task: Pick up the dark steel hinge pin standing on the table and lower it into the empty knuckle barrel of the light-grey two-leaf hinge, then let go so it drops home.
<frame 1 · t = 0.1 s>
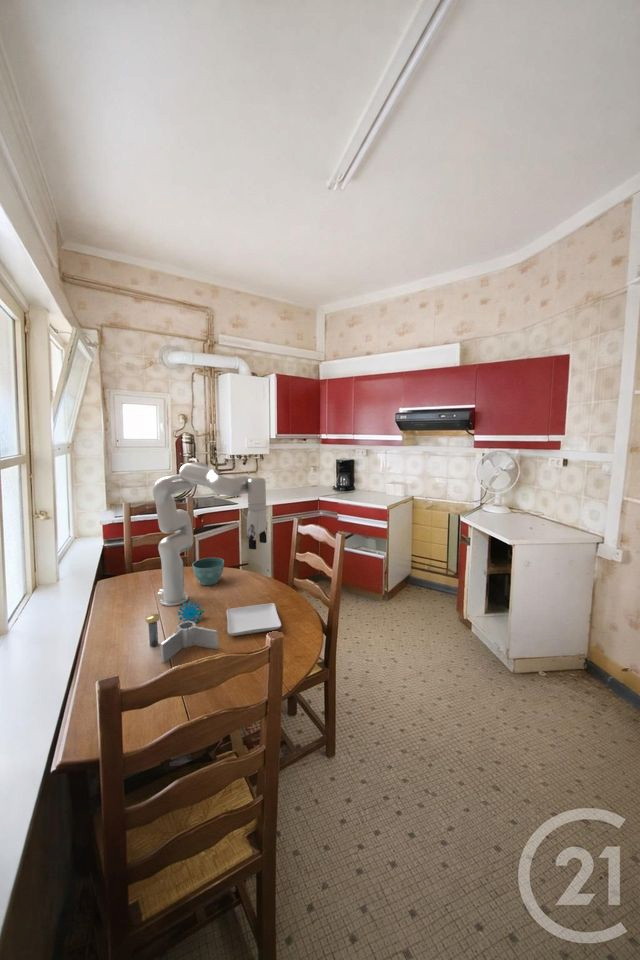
hand: (257, 545, 163), 31 cm above the table, fingers open, 9 cm apart
salad plate: (253, 624, 159), on the table
blue spiky piece: (191, 621, 161), on the table
teal bowl: (209, 582, 202), on the table
hinge: (187, 642, 144), on the table
pin: (154, 644, 143), on the table
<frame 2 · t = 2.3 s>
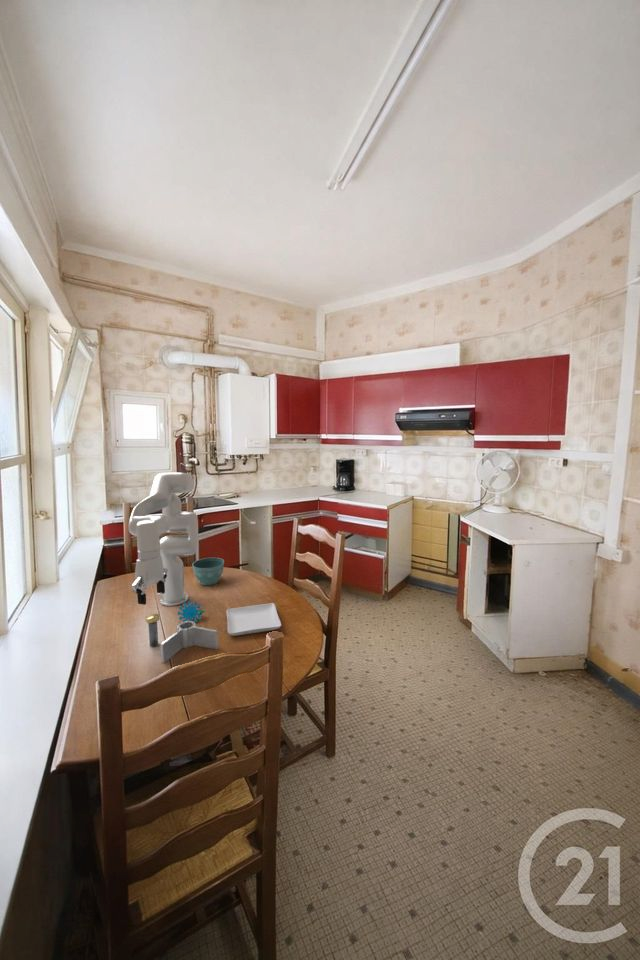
hand: (151, 598, 140), 18 cm above the table, fingers open, 9 cm apart
nothing on the table moved.
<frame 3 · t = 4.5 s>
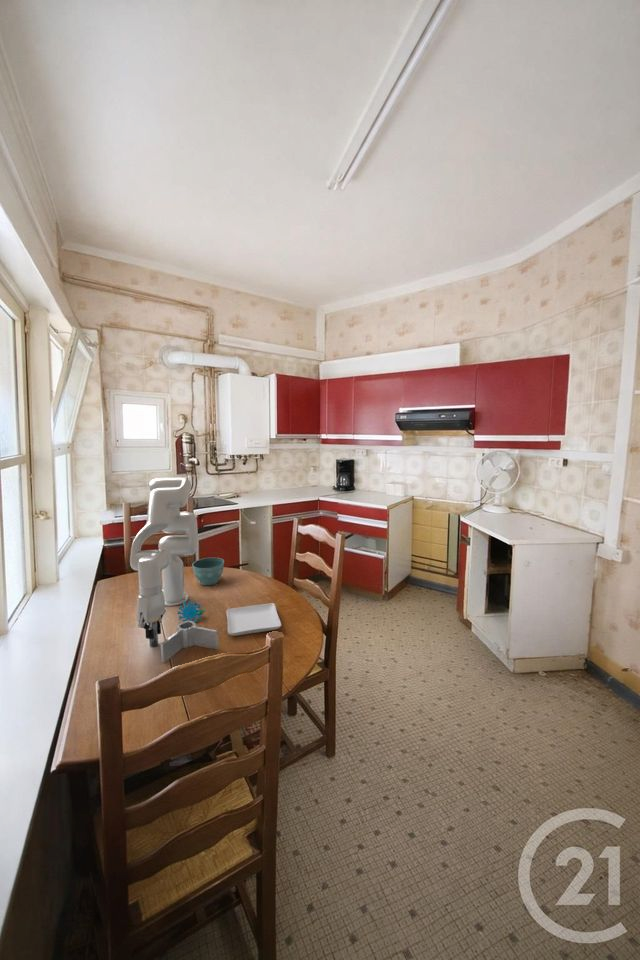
hand: (153, 635, 142), 4 cm above the table, fingers closed on pin, 3 cm apart
pin: (154, 644, 143), on the table, touching gripper
everything else where it was.
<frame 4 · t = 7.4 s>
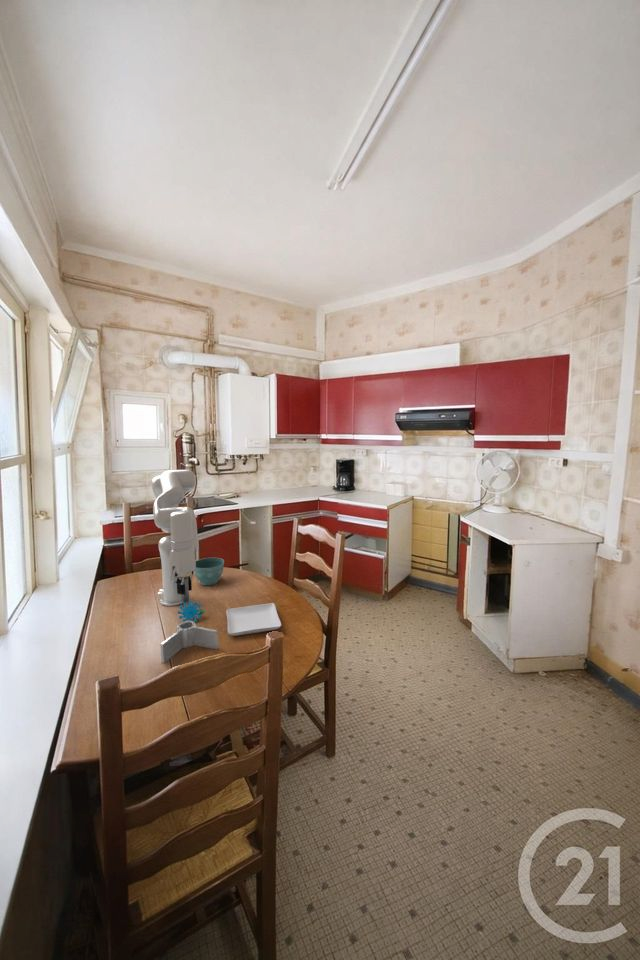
hand: (184, 591, 141), 20 cm above the table, fingers closed on pin, 3 cm apart
pin: (185, 601, 142), point 17 cm above the table, touching gripper
everything else where it was.
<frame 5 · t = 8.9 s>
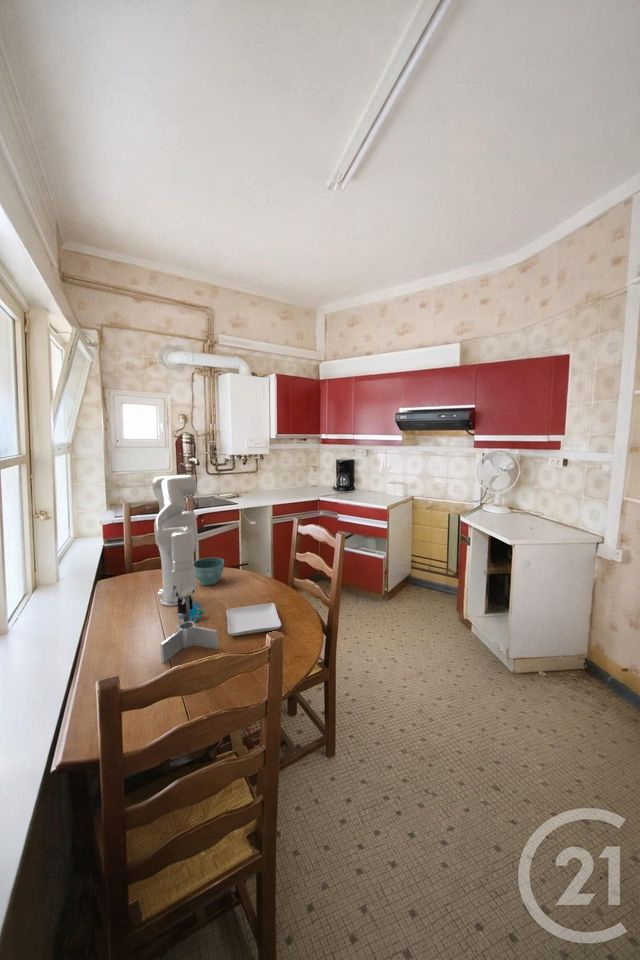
hand: (185, 610, 142), 13 cm above the table, fingers closed on pin, 3 cm apart
pin: (186, 620, 143), point 9 cm above the table, touching gripper
everything else where it was.
when the fingers open (8 cm above the table, at t = 10.4 s): pin drops 2 cm, point 2 cm above the table.
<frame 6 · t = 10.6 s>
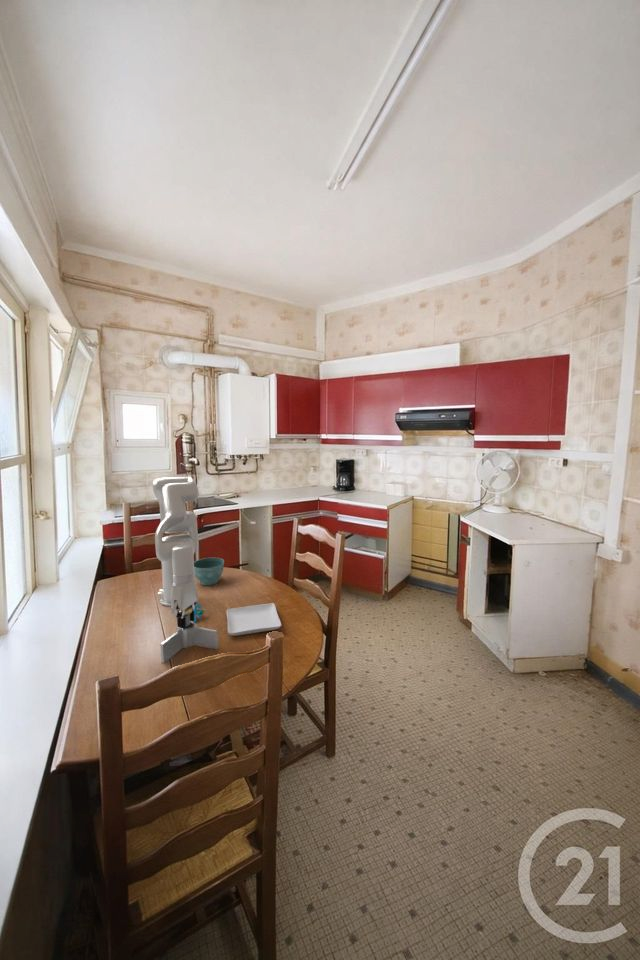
hand: (186, 623, 143), 8 cm above the table, fingers open, 4 cm apart
pin: (186, 637, 144), point 2 cm above the table, touching gripper
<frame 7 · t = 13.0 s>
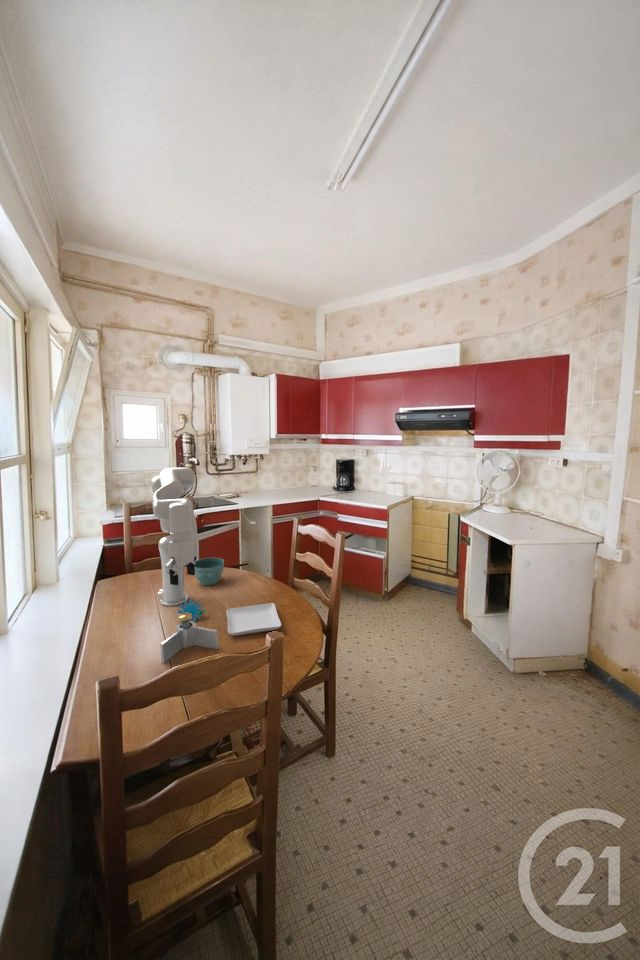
hand: (183, 579, 143), 24 cm above the table, fingers open, 9 cm apart
pin: (186, 643, 144), resting in hinge
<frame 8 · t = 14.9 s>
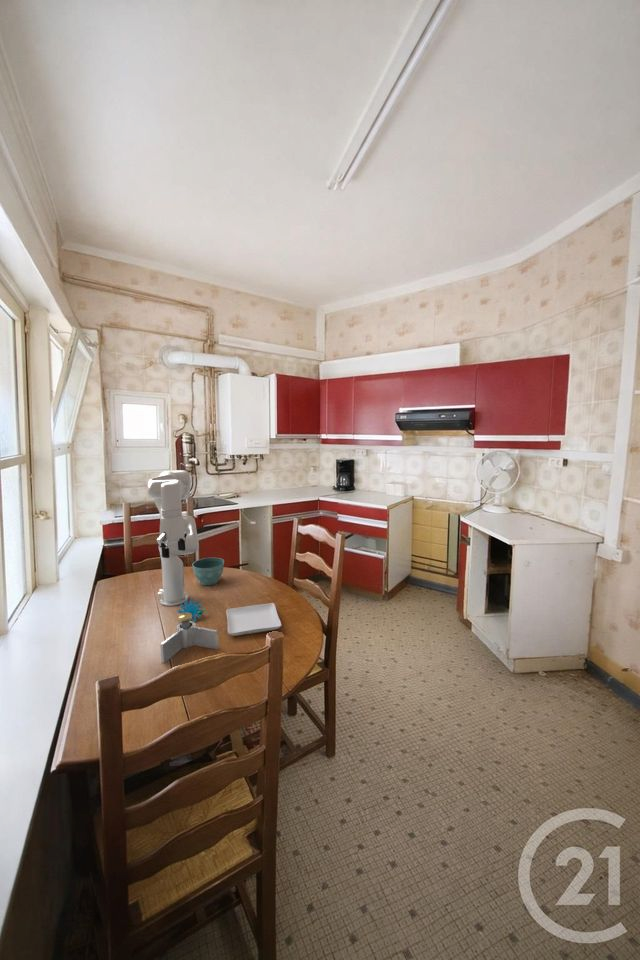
hand: (174, 553, 155), 30 cm above the table, fingers open, 9 cm apart
at the end: pin 0.3 cm off-centre on the hinge, point 0.0 cm above the hinge's base; pin tilted 0°; the gripper is holding nothing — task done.
